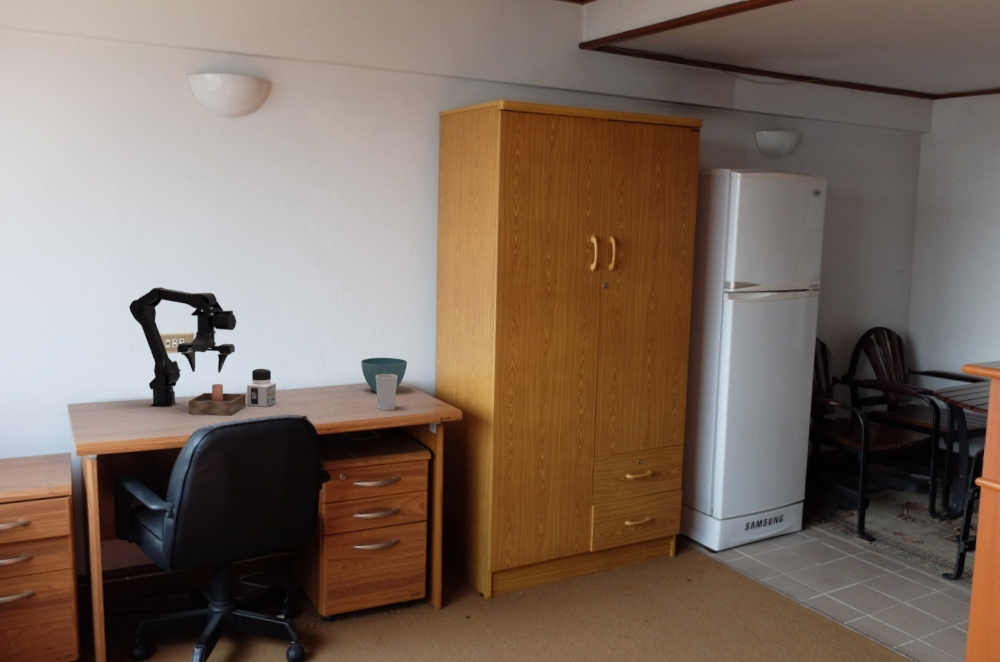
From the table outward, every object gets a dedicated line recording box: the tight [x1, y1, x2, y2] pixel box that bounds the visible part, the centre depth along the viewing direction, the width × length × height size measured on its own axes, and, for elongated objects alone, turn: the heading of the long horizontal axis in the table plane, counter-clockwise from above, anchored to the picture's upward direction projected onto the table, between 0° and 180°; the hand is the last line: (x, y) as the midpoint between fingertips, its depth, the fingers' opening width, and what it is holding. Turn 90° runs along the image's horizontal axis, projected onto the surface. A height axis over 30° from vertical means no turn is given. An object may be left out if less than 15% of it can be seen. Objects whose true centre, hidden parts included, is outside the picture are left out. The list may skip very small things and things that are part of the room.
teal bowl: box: [360, 357, 408, 393], centre depth 346 cm, size 18×18×12 cm
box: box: [188, 392, 247, 416], centre depth 304 cm, size 15×15×4 cm
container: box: [246, 368, 277, 408], centre depth 315 cm, size 8×8×13 cm
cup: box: [376, 374, 398, 411], centre depth 314 cm, size 8×8×12 cm
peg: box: [211, 383, 224, 402], centre depth 303 cm, size 4×4×9 cm
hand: (206, 372), depth 305 cm, fingers open, 9 cm apart
